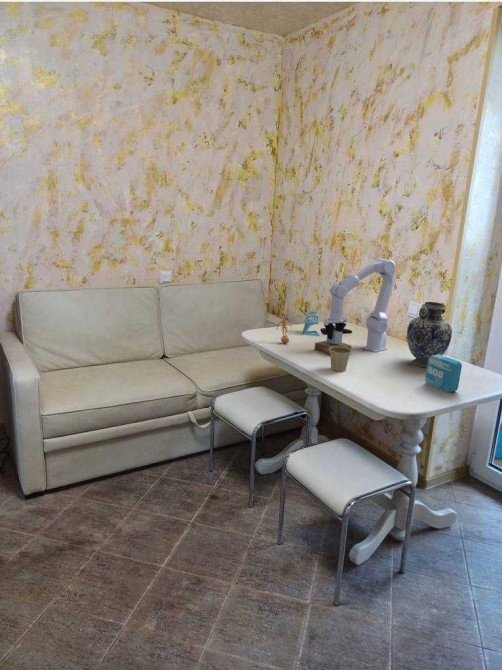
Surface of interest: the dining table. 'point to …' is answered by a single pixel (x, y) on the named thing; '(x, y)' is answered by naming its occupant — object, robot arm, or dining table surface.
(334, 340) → the slate cube
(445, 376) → the data package
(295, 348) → the dining table surface
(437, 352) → the decorative vase
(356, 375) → the dining table surface
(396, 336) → the dining table surface
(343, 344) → the walnut base block
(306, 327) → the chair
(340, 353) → the flower pot
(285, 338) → the figurine
